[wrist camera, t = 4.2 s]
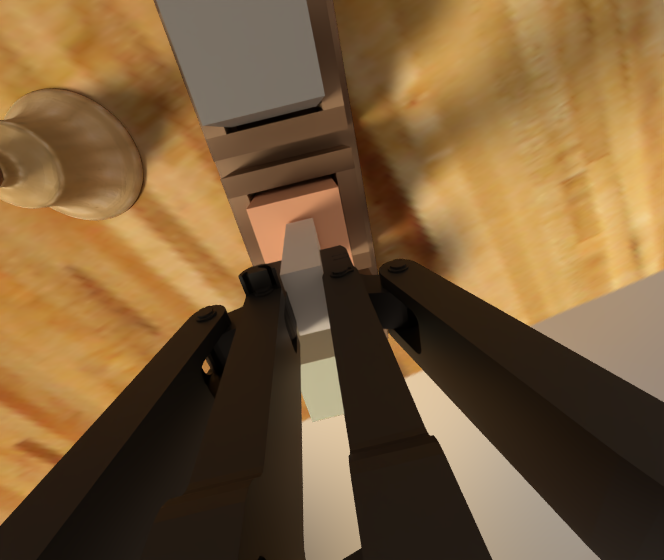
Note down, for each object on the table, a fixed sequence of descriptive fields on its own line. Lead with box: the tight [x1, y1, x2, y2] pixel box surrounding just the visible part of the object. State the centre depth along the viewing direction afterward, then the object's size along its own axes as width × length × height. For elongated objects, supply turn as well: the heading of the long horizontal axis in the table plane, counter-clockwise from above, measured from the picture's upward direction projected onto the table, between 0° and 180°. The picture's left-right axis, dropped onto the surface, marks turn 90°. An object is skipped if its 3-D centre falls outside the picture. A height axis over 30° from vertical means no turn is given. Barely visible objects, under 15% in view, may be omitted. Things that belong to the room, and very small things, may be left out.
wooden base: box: [154, 0, 388, 339], centre depth 22 cm, size 28×10×5 cm, turn 12°
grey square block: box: [156, 0, 325, 127], centre depth 14 cm, size 5×5×6 cm
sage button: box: [297, 328, 344, 422], centre depth 22 cm, size 5×5×6 cm
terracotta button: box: [246, 175, 354, 266], centre depth 20 cm, size 5×5×6 cm
